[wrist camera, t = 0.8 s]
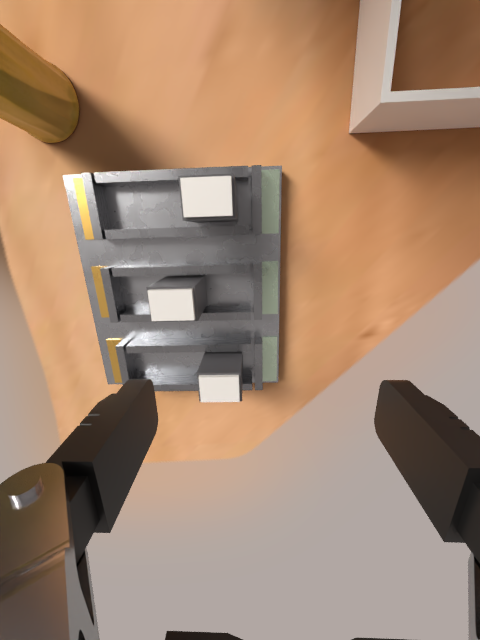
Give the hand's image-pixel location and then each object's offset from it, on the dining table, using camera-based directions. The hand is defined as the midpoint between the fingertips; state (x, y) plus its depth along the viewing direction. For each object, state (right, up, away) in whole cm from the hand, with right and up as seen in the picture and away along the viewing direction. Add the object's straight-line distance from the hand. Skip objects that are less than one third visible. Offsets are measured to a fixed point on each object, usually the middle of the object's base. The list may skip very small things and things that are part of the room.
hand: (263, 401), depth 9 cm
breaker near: (-3, +14, +15) cm, 21 cm away
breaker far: (-3, -2, +20) cm, 20 cm away
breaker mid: (-6, +6, +18) cm, 20 cm away
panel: (-7, +6, +19) cm, 22 cm away
